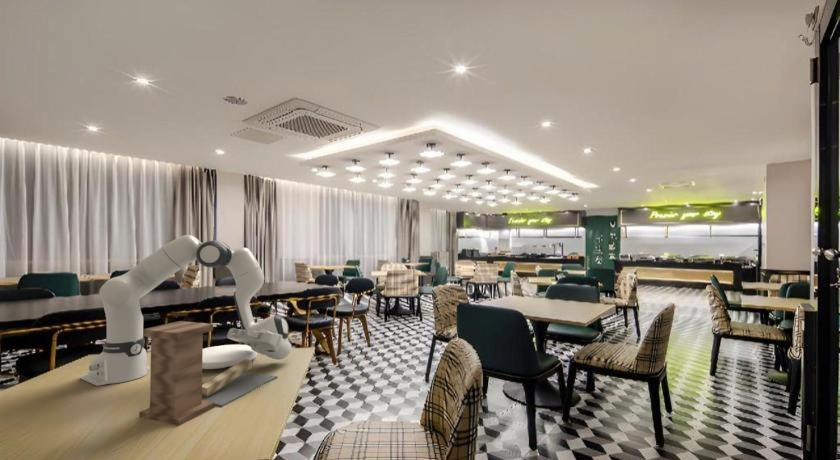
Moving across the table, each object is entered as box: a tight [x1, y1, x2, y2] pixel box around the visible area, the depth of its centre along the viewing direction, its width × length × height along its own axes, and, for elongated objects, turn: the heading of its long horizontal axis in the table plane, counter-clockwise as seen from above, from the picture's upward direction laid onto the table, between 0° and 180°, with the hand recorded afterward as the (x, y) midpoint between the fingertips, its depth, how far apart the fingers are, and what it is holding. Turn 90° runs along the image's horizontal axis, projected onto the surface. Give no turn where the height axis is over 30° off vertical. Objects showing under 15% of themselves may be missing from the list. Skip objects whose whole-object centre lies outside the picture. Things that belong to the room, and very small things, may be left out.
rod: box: [202, 359, 253, 397], centre depth 133 cm, size 20×3×3 cm, turn 162°
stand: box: [138, 320, 215, 426], centre depth 115 cm, size 16×12×26 cm
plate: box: [202, 344, 258, 370], centre depth 160 cm, size 28×6×27 cm
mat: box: [202, 371, 279, 408], centre depth 134 cm, size 20×26×1 cm
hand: (239, 331), depth 138 cm, fingers open, 5 cm apart
